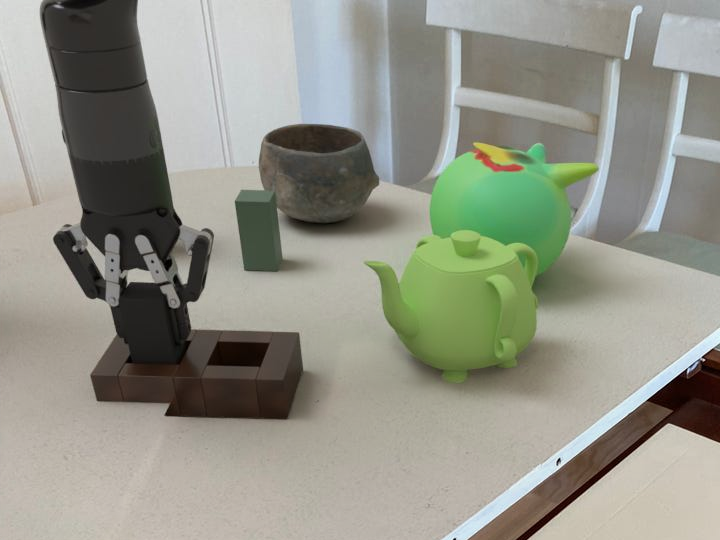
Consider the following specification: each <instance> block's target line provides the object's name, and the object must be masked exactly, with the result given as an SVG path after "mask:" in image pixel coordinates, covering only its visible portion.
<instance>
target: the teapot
mask: <svg viewBox="0 0 720 540" xmlns="http://www.w3.org/2000/svg"><path fill="white" fill-rule="evenodd" d="M519 253H524V254H525V255H526V263H525V269H524V268H523V266H522V264H521V262H520V260H519V258H518V256H517V254H519ZM362 264H364V265H365V266H367V267H369V268H370V269H372V270H373V271H374V272H375V274H376V275H377V276H378V279H379V284H380V289H381V305H382V312H383V314H384V318H385V319H386V321H387V323H388V325H389V326H390V327H391V328H392V329H393V331H394V332H395V334H396V336H397V337H398V339H399V340H400V341H401V343H402V344H403V345H404V346H405V348H406V349H407V350H408V352H409V353H410V354H411V355H412V356H413V357H414V358H417V359H418V360H420V361H421V362H423V363H425V364H426V365H429V366H431V367H433V368H436V369H440V370H443V371H442V376H441V377H442V379H443V380H444V381H446V382H448V383H454V384H456V383H462V382H465V381H466V380H467V379H468V370H469V371H470V370H476V369H483V368H489V367H492V366H496V367H498V368H502V369H509V368H514V367H516V366H517V365H518V360H517V358H516V357H517V356H519V355H520V354H521V353H522V352H523V351H524V350H526V349H527V347H528V345H529V344H530V343H531V342H532V340H533V338H534V337H535V334H536V332H537V323H538V321H537V319H538V318H537V309H538V306H539V300H538V297H537V295H536V294H535V293H534V292H533V289H532V288H533V285H534V282H535V279H536V277H537V276H536V272H537V267H538V259H537V255H536V253H535V252H534V250H533V249H532V248H530V247H529V246H527V245H525V244H523V243H512V244H509V245H507V246H505V245H504V244H502V243H500V242H498V241H496V240H494V239H491V238H488V237H484V236H481V235H480V234H479V233H477V232H474V231H470V230H460V231H456V232H454V233H452V234H451V237H450V238H444V239H442V238H441V237H439V236H437V235H433V234H428V235H425V236H423V237H422V238H420V239H419V240H418V241H417V244H416V246H415V249H414V250H413V252H412V254H411V256H410V257H409V259H408V261H407V263H406V265H405V268H404V270H403V272H402V275H401V277H400V279H399V280H398V276H397V273H396V272H395V270H394V268H393V267H392V266H391V265H390V264H388V263H387V262H383V261H377V260H365V261H363V262H362Z"/></svg>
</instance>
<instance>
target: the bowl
mask: <svg viewBox="0 0 720 540" xmlns="http://www.w3.org/2000/svg"><path fill="white" fill-rule="evenodd" d="M258 171H259V177H260V182H261V184H262V187H263V190H269V191H275V195H276V204H277V210H279V211H281V212H283V213H284V214H285V215H286V216H288V217H290V218H293V219H295V220H298V221H304V222H307V223H315V224H316V223H317V224H329V223H337V222H341V221H342V222H343V221H345V220H346V219H349V218H350V217H351V216H352V215H354V214H355V213H356V212H357V211H358V210H359V209H361V208H362V207H363V206H364V205H365V204H366V203H367V201H368V199H369V198H370V196H371V194H372V192H373V190H376V188H377V187H379V186H380V176H378V174H377V173H376V171H375V168H374V163H373V160H372V156H371V152H370V149H369V146H368V144H367V142H366V139H365V137H364V135H363V134H362V133H361V132H360V131H358V130H356V129H353V128H349V127H345V126H340V125H332V124H322V123H295V124H288V125H285V126H281V127H278V128H275V129H273V130H271V131H269V132H267V133H266V134H265V135H264V136H263V138H262V141H261V143H260V150H259V157H258Z"/></svg>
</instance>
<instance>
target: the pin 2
mask: <svg viewBox="0 0 720 540" xmlns="http://www.w3.org/2000/svg"><path fill="white" fill-rule="evenodd" d="M234 207H235V215H236V220H237V221H236V222H237V228H238V229H237V230H238V236H239V243H240V250H241V257H242V262H243V270H244V271H257V272H259V271H261V272H278V271H279V268H280V265H281V263H282V261H283V250H282V242H281V233H280V232H281V231H280V223H279V214H278V208H277V204H276V195H275V191H269V190H264V189H263V190H262V189H241V190H240V191H239V193H238V195H237V196H236V198H235V200H234Z"/></svg>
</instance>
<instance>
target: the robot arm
mask: <svg viewBox="0 0 720 540" xmlns="http://www.w3.org/2000/svg"><path fill="white" fill-rule="evenodd" d="M138 6H139V0H42V1H41V2H40V5H39V21H40V26H41V31H42V35H43V36H42V37H43V40H44V44H45V49H46V54H47V57H48V61H49V65H50V69H51V73H52V79H53V82H54V87H55V92H56V101H57V109H58V117H59V121H60V125H61V136H62V140H63V144H65V146H66V151H67V154H68V155H67V156H68V160H69V163H70V167H71V168H70V169H71V172H72V176H73V180H74V185H75V188H76V192H77V197H78V201H79V204H80V206H81V210H82V211H81V212H82V213H81V218H80V222H78V223H76V224H73V225H72V224H69V223H66V224H63V225H62V227H60V228H59V229H58V230H57V232H56V233H55V234H54V235H53V237H52V241H53V244H54V245H55V247H56V249H57V250H58V253H59V254H60V255H61V257H62V259H63V260H64V263H65V264H66V265H67V267H68V269H69V270H70V273H71V274H72V275H73V277H74V279H75V280H76V282H77V283H78V286H79V287H80V289H81V290H82V292H83V294H84V295H85V297H87V299H89V300H96V299H98V300H101V301H104V302H106V303H107V305H108V306H109V309H110V311H111V316H112V320H113V325H114V329H115V333H116V335H118V336H119V338H124V342H125V344H128V342H127V337H126V333H125V329H124V324H123V320H122V315H121V311H120V307H119V302H118V299H119V297H120V296H121V295H122V293H123V292H124V290H125V289H126V287H127V286H128V275H129V271H131V270H135V269H136V270H141V271H145V272H150V275H151V277H152V279H153V282H154V283H156V285H158V286H159V287H160V289H161V291H162V293H163V295H164V297H165V300H166V302H167V304H168V305H169V307H168V314H169V319H170V324H171V329H172V335H173V340H174V344H175V346H182V345H183V344H184V342H185V340H187V338H188V336H189V334H190V332H191V329H192V325H191V319H190V313H189V308H188V303H195V302H197V301H199V299H200V297H201V295H202V293H203V292H204V290H205V287H206V281H207V277H208V271H209V265H210V260H211V255H212V250H213V244H214V240H215V234H214V232H213V230H212V229H210V228H209V227H205V228H202V229H201V230H198V229H195V228H192V227H191V226H187V225H185V224H183V221H182V219H181V218H180V216H179V215H178V213H177V212H176V209H175V206H174V202H173V195H172V189H171V184H170V179H169V173H168V167H167V161H166V156H165V155H166V154H165V150H164V144H163V138H162V133H161V127H160V122H159V116H158V112H157V111H158V110H157V108H156V104H155V100H154V96H153V94H152V90H151V88H150V84H149V79H148V73H147V67H146V62H145V57H144V51H143V50H144V49H143V46H142V40H141V35H140V30H139V25H138V8H139V7H138ZM87 239H88V240H89V242H91V244H92V245H93V246H94V247H95V249H97V250H98V251H99V252H100V253H101V254H102V255H103V257H104V276H103V274H102V273H101V271H100V269H99V268H98V266H97V264H96V262H95V261H94V258H93V257H92V255H91V254H90V252H89V250H88V248H87V247H88V246H89V242H88V240H87ZM179 240H181V241H182V243H183V245H184V251H185V253H186V254H187V256H190V257H191V258H190V264H189V270H188V276H187V279H186V280H187V281H186V283H184V282H183V280H182V278H181V276H180V273H179V267H178V264H177V261H176V259H175V257H174V254H173V250H174V248H175V246H176V244H177V243H178V241H179Z"/></svg>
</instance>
